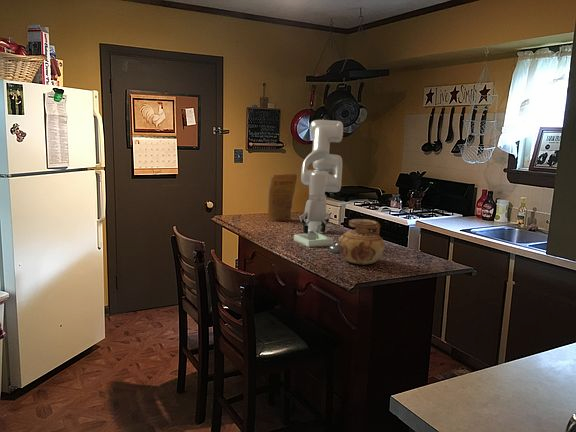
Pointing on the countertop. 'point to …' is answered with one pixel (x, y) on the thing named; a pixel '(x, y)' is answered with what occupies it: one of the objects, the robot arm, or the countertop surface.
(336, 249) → the pot lid
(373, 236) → the clay pot
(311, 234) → the lighter
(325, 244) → the tray
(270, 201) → the pancake mix bag
